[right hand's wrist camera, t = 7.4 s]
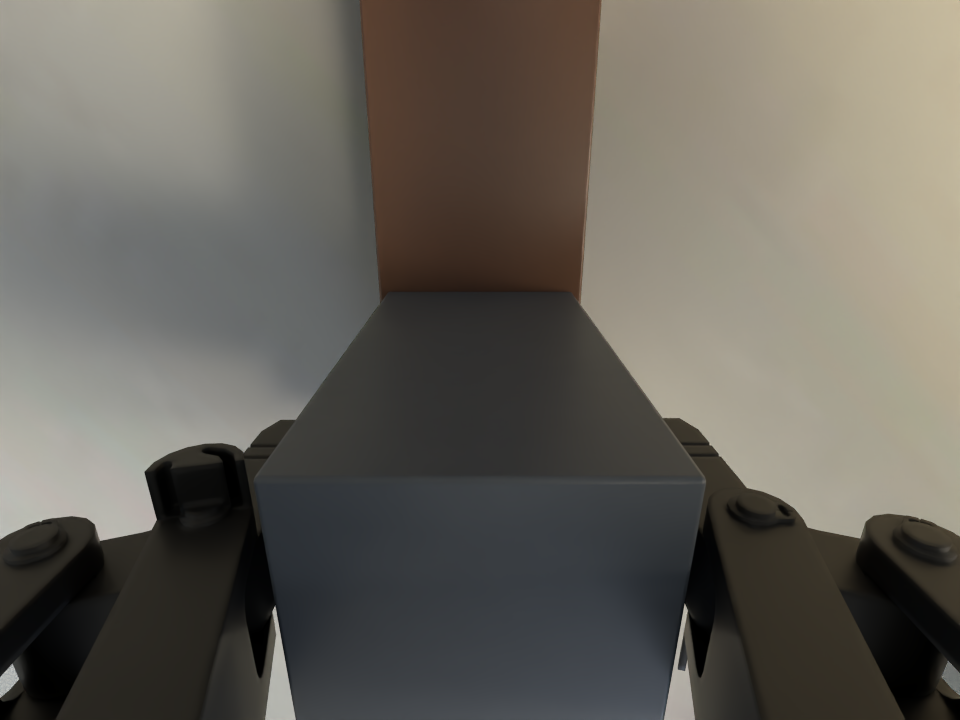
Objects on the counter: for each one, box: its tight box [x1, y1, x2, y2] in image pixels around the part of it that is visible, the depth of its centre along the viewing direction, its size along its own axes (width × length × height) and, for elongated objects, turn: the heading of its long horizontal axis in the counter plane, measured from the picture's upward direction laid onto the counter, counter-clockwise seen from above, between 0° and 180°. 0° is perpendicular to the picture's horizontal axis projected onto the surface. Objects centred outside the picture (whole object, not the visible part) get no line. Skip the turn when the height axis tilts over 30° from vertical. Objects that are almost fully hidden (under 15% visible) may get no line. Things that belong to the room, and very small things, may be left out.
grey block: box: [254, 292, 706, 720], centre depth 11 cm, size 5×5×9 cm
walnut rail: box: [359, 0, 602, 304], centre depth 15 cm, size 6×26×6 cm, turn 0°
